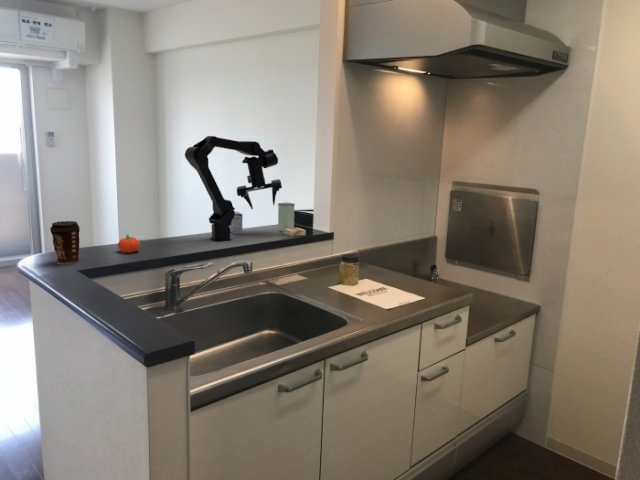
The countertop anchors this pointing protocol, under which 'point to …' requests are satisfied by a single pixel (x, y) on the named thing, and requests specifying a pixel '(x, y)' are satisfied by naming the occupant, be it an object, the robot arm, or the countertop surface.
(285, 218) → the tea tin
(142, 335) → the countertop surface
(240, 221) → the medicine box
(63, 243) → the coffee cup
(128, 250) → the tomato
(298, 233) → the oak block
